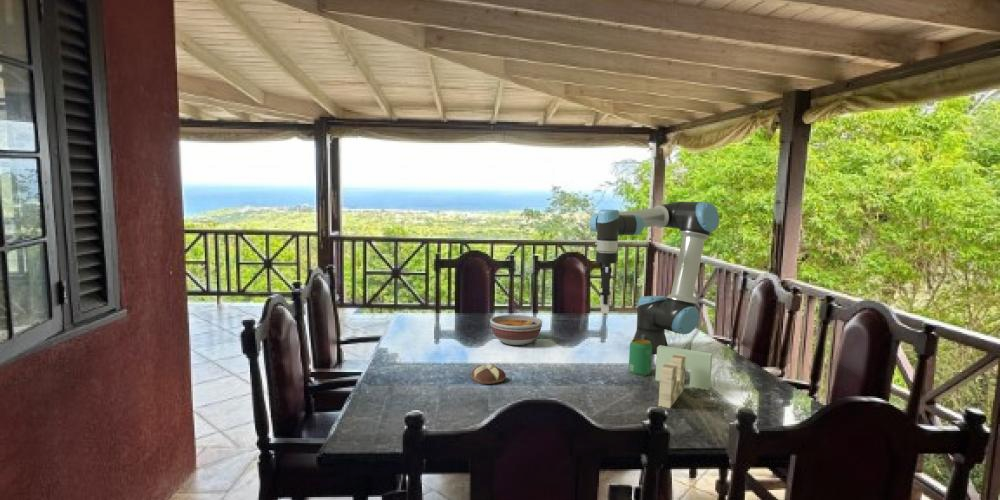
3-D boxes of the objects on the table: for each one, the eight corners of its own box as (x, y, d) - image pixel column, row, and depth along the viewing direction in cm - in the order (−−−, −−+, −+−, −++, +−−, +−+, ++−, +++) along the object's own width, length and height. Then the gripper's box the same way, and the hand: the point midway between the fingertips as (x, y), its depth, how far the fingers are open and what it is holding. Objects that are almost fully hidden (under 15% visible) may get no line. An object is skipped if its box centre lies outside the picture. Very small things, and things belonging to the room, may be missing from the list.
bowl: (550, 341, 245) (551, 319, 244) (525, 352, 225) (525, 328, 224) (507, 333, 257) (507, 312, 256) (479, 343, 237) (479, 320, 236)
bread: (467, 377, 193) (467, 363, 193) (497, 373, 198) (497, 360, 197) (478, 387, 183) (479, 372, 183) (509, 383, 188) (510, 369, 187)
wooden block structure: (673, 387, 188) (675, 353, 187) (683, 389, 186) (685, 355, 185) (658, 405, 171) (660, 368, 169) (669, 408, 169) (672, 370, 168)
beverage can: (635, 368, 209) (637, 337, 207) (654, 373, 203) (656, 341, 202) (624, 372, 203) (625, 340, 202) (643, 377, 197) (645, 345, 196)
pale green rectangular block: (655, 380, 195) (657, 347, 194) (657, 377, 198) (659, 345, 197) (708, 390, 186) (710, 355, 185) (710, 387, 189) (712, 353, 188)
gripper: (595, 248, 212) (593, 302, 214) (596, 255, 188) (594, 315, 190) (615, 249, 211) (613, 303, 213) (619, 255, 187) (616, 317, 189)
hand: (604, 309), depth 202 cm, fingers open, 13 cm apart
